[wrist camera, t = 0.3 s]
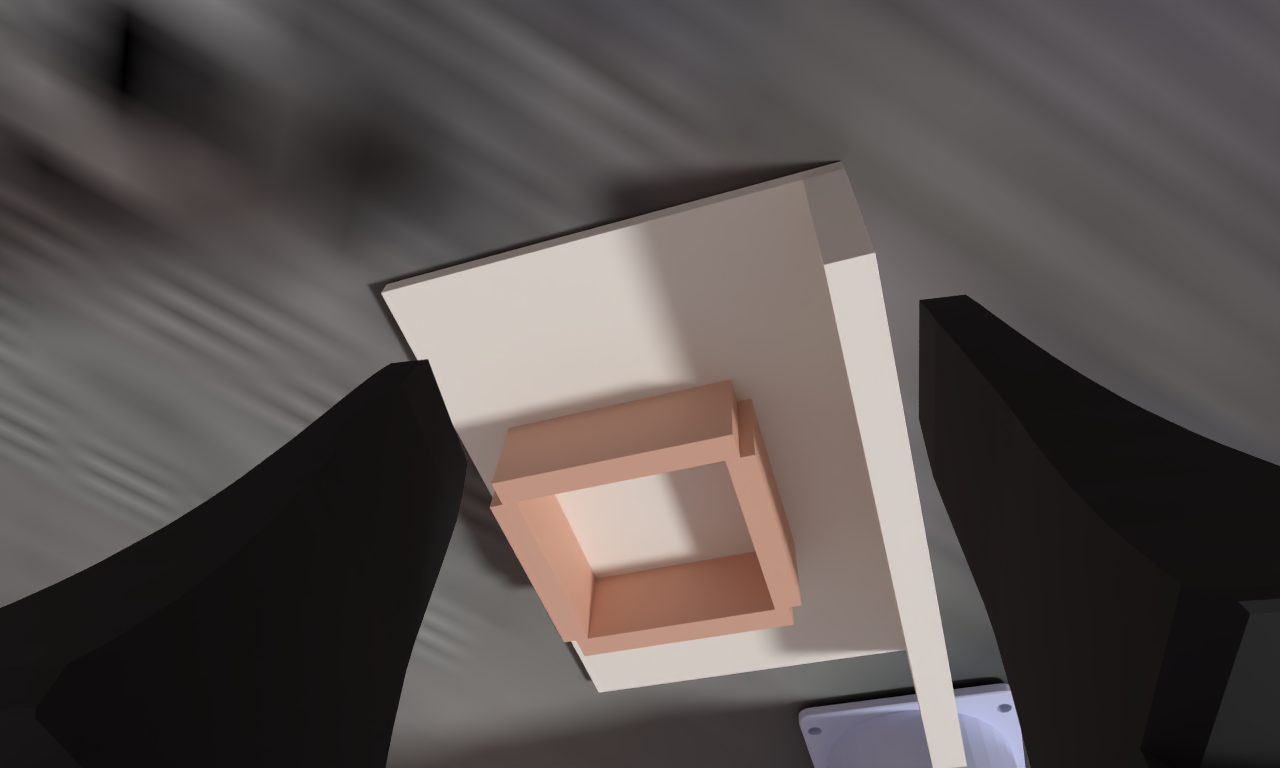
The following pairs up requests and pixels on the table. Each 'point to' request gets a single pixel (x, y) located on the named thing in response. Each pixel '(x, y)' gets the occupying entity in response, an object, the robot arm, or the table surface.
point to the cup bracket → (698, 438)
